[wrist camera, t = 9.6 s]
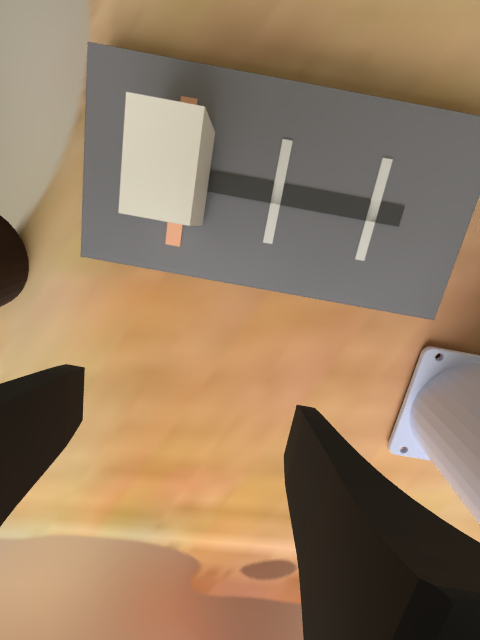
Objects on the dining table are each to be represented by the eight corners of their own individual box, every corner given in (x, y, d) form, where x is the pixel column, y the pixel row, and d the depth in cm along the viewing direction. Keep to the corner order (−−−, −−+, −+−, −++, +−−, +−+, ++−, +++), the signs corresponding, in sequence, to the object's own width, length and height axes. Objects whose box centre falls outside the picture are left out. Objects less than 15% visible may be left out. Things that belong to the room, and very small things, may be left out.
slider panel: (478, 132, 17) (508, 120, 15) (416, 311, 20) (435, 320, 18) (106, 62, 17) (86, 40, 15) (97, 253, 20) (79, 256, 18)
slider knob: (215, 132, 16) (204, 106, 12) (202, 225, 17) (189, 225, 14) (153, 121, 16) (126, 91, 12) (145, 215, 17) (118, 212, 13)
